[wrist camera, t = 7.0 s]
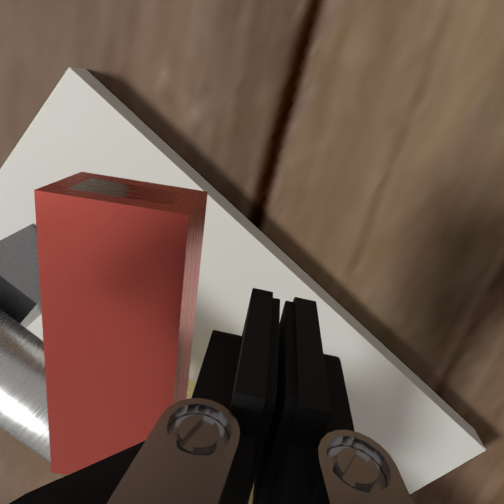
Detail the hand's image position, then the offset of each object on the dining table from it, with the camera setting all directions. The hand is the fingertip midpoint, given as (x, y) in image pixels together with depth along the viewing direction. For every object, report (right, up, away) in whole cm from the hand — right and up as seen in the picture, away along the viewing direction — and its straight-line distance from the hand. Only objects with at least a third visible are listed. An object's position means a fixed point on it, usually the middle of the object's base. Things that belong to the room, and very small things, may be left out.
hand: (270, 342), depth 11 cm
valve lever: (-4, -3, +1) cm, 5 cm away
